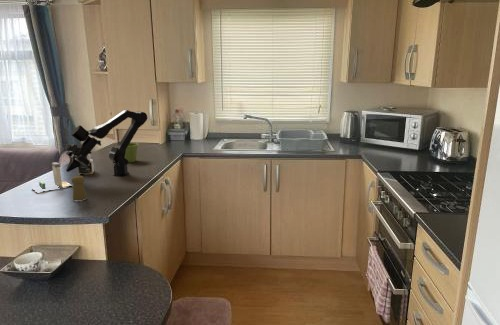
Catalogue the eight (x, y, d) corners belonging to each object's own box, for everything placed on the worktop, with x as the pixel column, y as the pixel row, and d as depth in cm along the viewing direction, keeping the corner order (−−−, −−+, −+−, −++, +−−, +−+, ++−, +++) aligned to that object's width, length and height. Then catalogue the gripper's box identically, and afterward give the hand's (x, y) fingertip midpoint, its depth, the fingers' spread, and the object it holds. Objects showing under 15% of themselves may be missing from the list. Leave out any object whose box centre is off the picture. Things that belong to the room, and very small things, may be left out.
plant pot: (116, 162, 236) (115, 145, 233) (130, 158, 246) (129, 142, 244) (130, 164, 231) (128, 146, 228) (143, 160, 241) (142, 143, 238)
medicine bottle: (79, 174, 207) (76, 154, 204) (81, 171, 213) (78, 151, 210) (92, 174, 208) (90, 153, 206) (94, 170, 215) (92, 151, 212)
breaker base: (65, 182, 191) (65, 175, 190) (72, 186, 184) (71, 179, 183) (31, 189, 181) (30, 181, 180) (37, 193, 174) (35, 186, 173)
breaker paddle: (59, 183, 187) (56, 162, 184) (62, 185, 183) (59, 163, 181) (54, 184, 185) (51, 162, 183) (57, 186, 182) (54, 164, 179)
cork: (89, 197, 168) (87, 174, 165) (84, 202, 162) (81, 178, 159) (76, 197, 167) (73, 174, 165) (70, 202, 162) (67, 178, 159)
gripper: (68, 135, 192) (47, 159, 188) (80, 139, 179) (59, 165, 174) (85, 148, 199) (65, 171, 195) (98, 153, 186) (78, 178, 181)
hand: (66, 171), depth 186 cm, fingers closed
